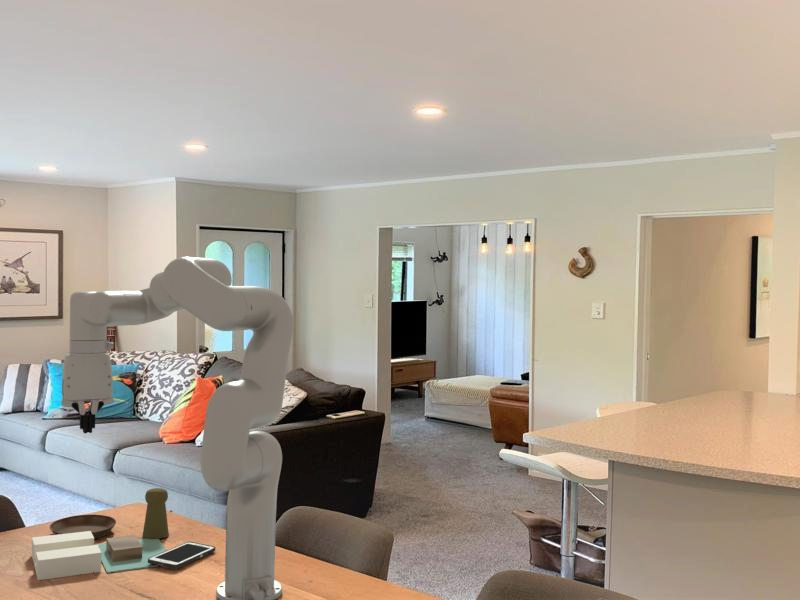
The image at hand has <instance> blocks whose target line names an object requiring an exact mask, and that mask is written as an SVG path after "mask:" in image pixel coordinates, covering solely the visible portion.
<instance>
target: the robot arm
mask: <svg viewBox="0 0 800 600" xmlns="http://www.w3.org/2000/svg"><path fill="white" fill-rule="evenodd" d="M232 278H233V277H232V273H231V271H230V269H229V268H228V266H227V265H225V263H223V262H222V261H220V260H218V259H215V258H210V257H209V258H208V257H193V256H182V257H177V258H175V259H174V260H171V261H170V262H169V263H168V264H167V265H166V267H165V268H164V269H163V271H162V272H161V271H160V272H159V273H157V274H155V275H154V276H153V277H152V279H150V283H149V287H147V288H145V289H140V290H102V291H101V290H100V291H76V292H72V294H71V295H70V297H69V353H68V354H67V353H66V354H65V356H64V361H63V368H62V378H61V379H62V381H61V397H62V398H61V402H60V405H61V406H63V407H65V408H71V409H74V410H75V411H76V412H77V413H78V414H79V429H80V430H82V432H83V434H88V433H89V434H92V433H93V429H96V414H97V413H98V412H99V410H101V409H102V408H103V407H104V406H108V405H112V404H114V402H115V401H114V397H113V394H114V381H113V369H112V361H111V356H110V353H107V352H108V350H110V349H114V342H110V341H108V338H107V332H108V331H107V328H108V327H119V326H120V327H121V326H140V325H144V324H148V323H152V322H154V321H160V320H162V319H165V318H167V317H170V315H173V313H175V312H179V311H182V310H186V311H187V312H188V313H190V314H191V315H192V316H195V318H197V319H198V320H200V321H201V322H202V323H204V324H205V325H206V326H209V327H210V328H212V329H215V330H217V331H222V332H236V331H238V332H239V331H247V330H248V331H249V330H250V331H252V333H253V334H252V336H251V338H250V339H249V342H248V343H247V346H246V348H245V350H244V354H243V359H242V367H241V374H240V377H239V379H238V380H233V381H230V382H225V383H224V384H222V385H220V386H219V387H217V388H216V389H215V391H214V392H213V393H212V394H211V396H210V398H209V401H208V403H207V407H206V412H205V419H204V425H203V426H204V427H203V433H202V442H201V443H202V444H201V449H200V450H201V451H200V461H199V462H200V472H201V475H202V478H203V480H204V482H205V483H206V484H207V485H208V487H210V488H211V489H212V490H215V491H217V492H228V496H227V503H226V520H225V521H226V522H225V560H224V561H225V567H224V568H225V569H224V581H223V582H221V583H220V584H219V585H218V586H217V587H216V590H215V593H216V597H217V599H219V600H277V599H278V598H279V597H280V596H281V595H282V594H283V592H282V591H283V585H282V584H281V583H280V582H279V581H278V580H276V579H275V564H276V563H275V560H276V556H275V555H276V525H277V524H276V521H277V520H276V518H277V499H278V488H279V486H278V485H279V481H280V476H281V470H282V464H283V452H282V450H283V449H282V448H281V445H280V443H279V441H278V440H277V438H276V437H275V436H274V435H272V434H271V433H270V432H266V431H262V430H255V429H259V428H263V427H266V426H269V425H271V424H273V423H275V422H276V421H277V420H278V419H279V418H280V415H281V412H282V408H283V402H284V395H285V387H286V386H285V385H286V381H287V380H286V379H287V371H288V362H289V354H290V352H291V351H290V350H291V349H290V348H291V344H292V340H293V333H294V317H293V313H292V310H291V308H290V305H289V304H288V302H287V301H286V299H284V297H283V296H282V295H281V294H279V293H278V292H276V291H274V290H272V289H270V288H266V287H263V286H257V285H255V286H254V285H253V286H252V285H242V286H241V285H240V286H239V285H232V281H233V280H232ZM85 401H90V406H89V410H88V413H87V411H86V407H85ZM251 430H253V431H251Z"/></svg>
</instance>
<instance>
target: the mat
mask: <svg viewBox="0 0 800 600" xmlns="http://www.w3.org/2000/svg"><path fill="white" fill-rule="evenodd" d="M137 540H138V541H139V542H140V544H141V545H142V558H140V559H133V560H125V561H118V562H113V561H112V559H111V557H110V555H109V553H108V552H107V550H106V542H105V543H96V544H95V545H98V547H99V549H100V551H101V564H102V563H103V564H102V565H104V566H103V567H105V568H104V570H105V569H106V570H105V572H106V574H111V572H114V573H118V572H117V571H121V572H126V571H125V570H128V571H135V570H141V569H147V567H148V569H149V567H150V568H155V567H156V566H157V567H159V566H158V565H153V564H149V563H148V559H149V558H150V557H153V556H155V555H157V554H160V553H162V552H165V551H167V550H168V549H167V548H166V547H165V545H164V544H163V543H162V542H161V540H160V538H158V539H148V538H137ZM134 569H135V570H134Z"/></svg>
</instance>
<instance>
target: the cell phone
mask: <svg viewBox="0 0 800 600" xmlns="http://www.w3.org/2000/svg"><path fill="white" fill-rule="evenodd" d="M166 550H167V551H165V552H162V553H160V554H157V555H155V556H153V557H150V558H149V559H148V563H149V564H153V565H158V566H157V567H163V568H168V569H175V570H176V569H179V568H182V567H184V566H185V565H188V564H190V563H193V562H194V561H196V560H199V559H201V558H204V557H205V556H207V555H210V554H212V553H214V552H216V546H214V545H209V544H204V543H199V542H193V541H186V542H184V543H181V544H179V545H176V546H175V547H172V548H169V549H166Z"/></svg>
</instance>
